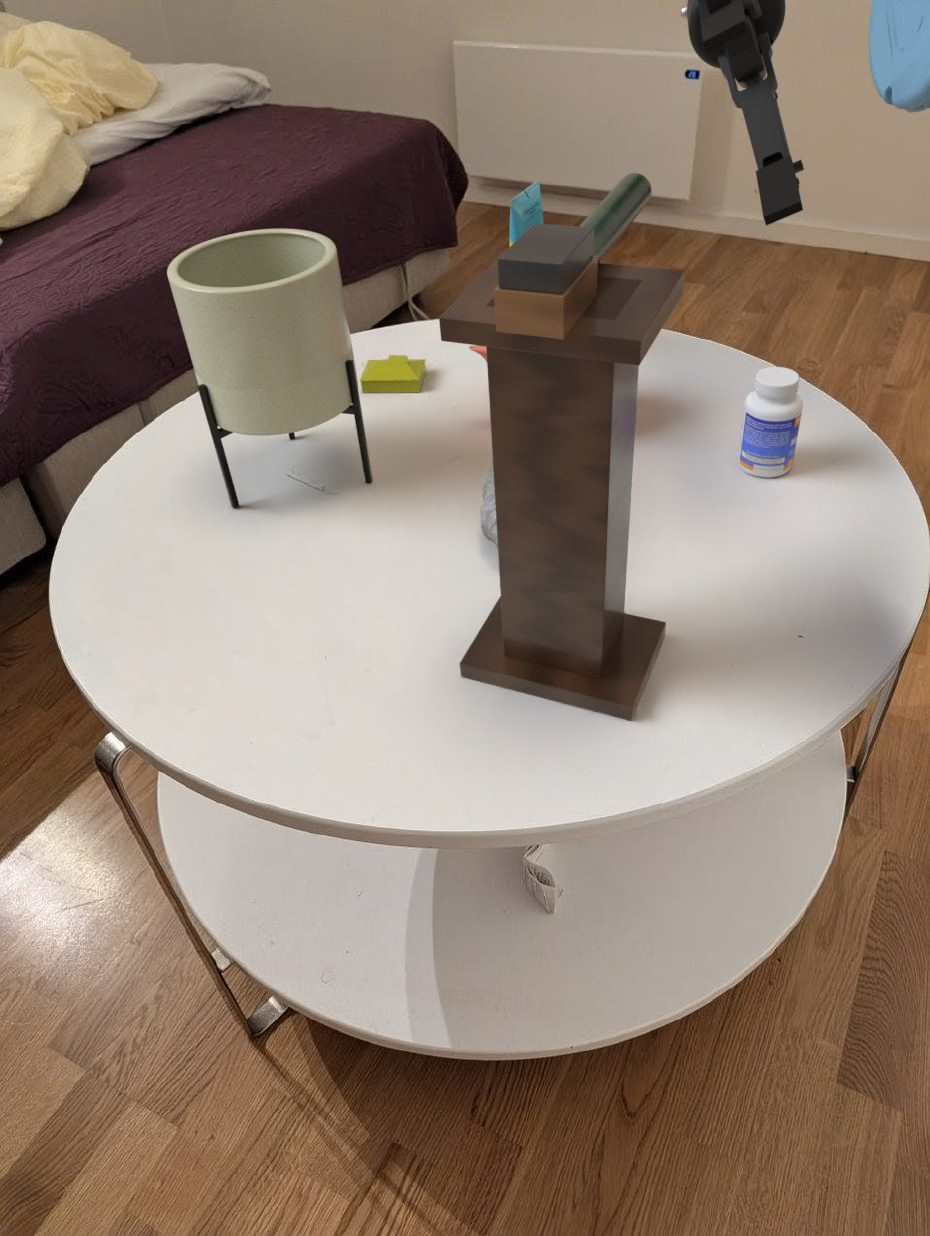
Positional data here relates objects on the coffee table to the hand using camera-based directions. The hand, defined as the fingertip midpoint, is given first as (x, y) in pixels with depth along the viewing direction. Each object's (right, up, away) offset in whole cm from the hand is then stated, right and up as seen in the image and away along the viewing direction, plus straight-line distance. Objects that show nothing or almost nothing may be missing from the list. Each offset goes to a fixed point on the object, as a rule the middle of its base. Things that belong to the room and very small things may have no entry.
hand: (756, 132), depth 64 cm
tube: (-12, 0, +53) cm, 54 cm away
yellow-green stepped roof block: (-29, -5, +49) cm, 57 cm away
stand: (-12, -37, +11) cm, 40 cm away
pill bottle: (+10, -18, +30) cm, 36 cm away
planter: (-37, -19, +34) cm, 54 cm away
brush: (-12, -11, -6) cm, 18 cm away
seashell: (-15, -25, +25) cm, 38 cm away
